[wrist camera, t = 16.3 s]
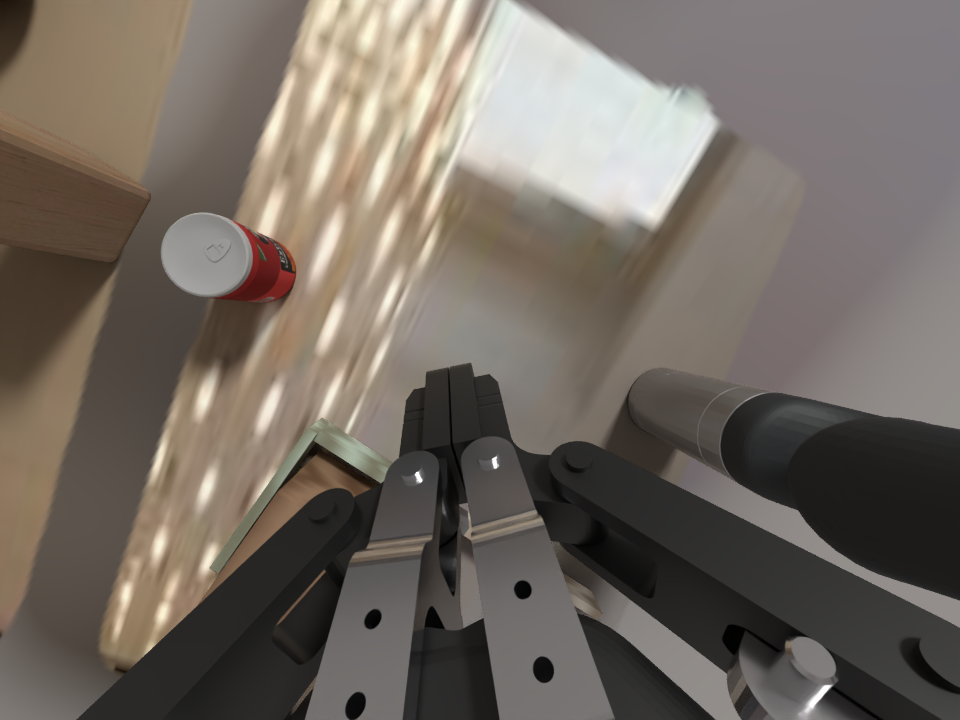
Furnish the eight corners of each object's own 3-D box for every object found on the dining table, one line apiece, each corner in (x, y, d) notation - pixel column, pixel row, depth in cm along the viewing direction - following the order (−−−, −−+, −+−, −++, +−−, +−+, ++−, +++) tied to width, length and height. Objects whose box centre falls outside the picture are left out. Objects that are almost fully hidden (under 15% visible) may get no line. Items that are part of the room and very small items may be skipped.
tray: (591, 591, 52) (605, 619, 47) (508, 699, 53) (514, 738, 48) (322, 417, 47) (306, 429, 42) (234, 542, 48) (209, 568, 43)
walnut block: (409, 506, 49) (396, 565, 37) (351, 586, 50) (319, 670, 38) (320, 450, 47) (276, 493, 35) (261, 534, 48) (197, 605, 36)
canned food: (311, 266, 45) (266, 248, 34) (271, 316, 45) (213, 315, 34) (259, 224, 44) (195, 192, 33) (218, 276, 44) (141, 261, 33)
